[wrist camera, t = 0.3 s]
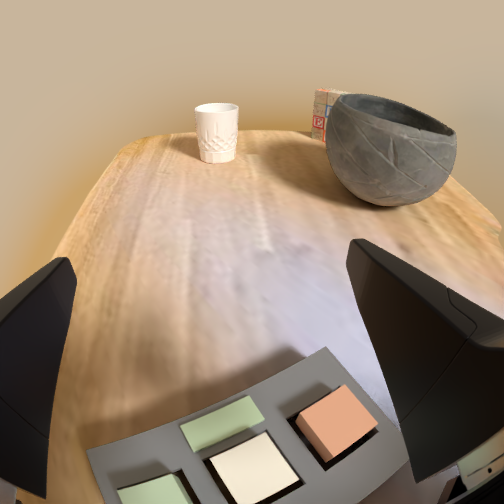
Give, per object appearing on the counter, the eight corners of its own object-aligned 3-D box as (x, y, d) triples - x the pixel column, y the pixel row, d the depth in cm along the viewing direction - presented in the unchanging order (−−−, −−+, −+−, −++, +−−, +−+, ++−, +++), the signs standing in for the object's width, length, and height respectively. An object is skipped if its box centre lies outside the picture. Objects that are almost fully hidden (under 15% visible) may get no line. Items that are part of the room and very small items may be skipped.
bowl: (370, 246, 36) (400, 131, 26) (293, 173, 51) (301, 88, 41) (457, 221, 42) (485, 139, 32) (381, 164, 57) (394, 96, 47)
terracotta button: (367, 432, 17) (378, 423, 15) (325, 462, 15) (333, 457, 14) (337, 395, 19) (344, 384, 18) (294, 422, 17) (299, 412, 16)
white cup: (244, 153, 57) (245, 104, 51) (227, 168, 52) (226, 113, 45) (209, 148, 60) (207, 102, 53) (189, 162, 54) (185, 111, 47)
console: (398, 460, 16) (419, 450, 14) (167, 583, 9) (154, 593, 7) (318, 365, 24) (326, 344, 22) (103, 459, 16) (83, 448, 14)
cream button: (293, 482, 14) (299, 479, 13) (241, 509, 13) (241, 509, 11) (263, 439, 17) (265, 432, 15) (213, 463, 15) (209, 458, 14)
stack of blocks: (402, 160, 61) (413, 110, 53) (397, 167, 57) (408, 113, 49) (321, 133, 70) (326, 86, 62) (310, 138, 66) (314, 88, 59)
